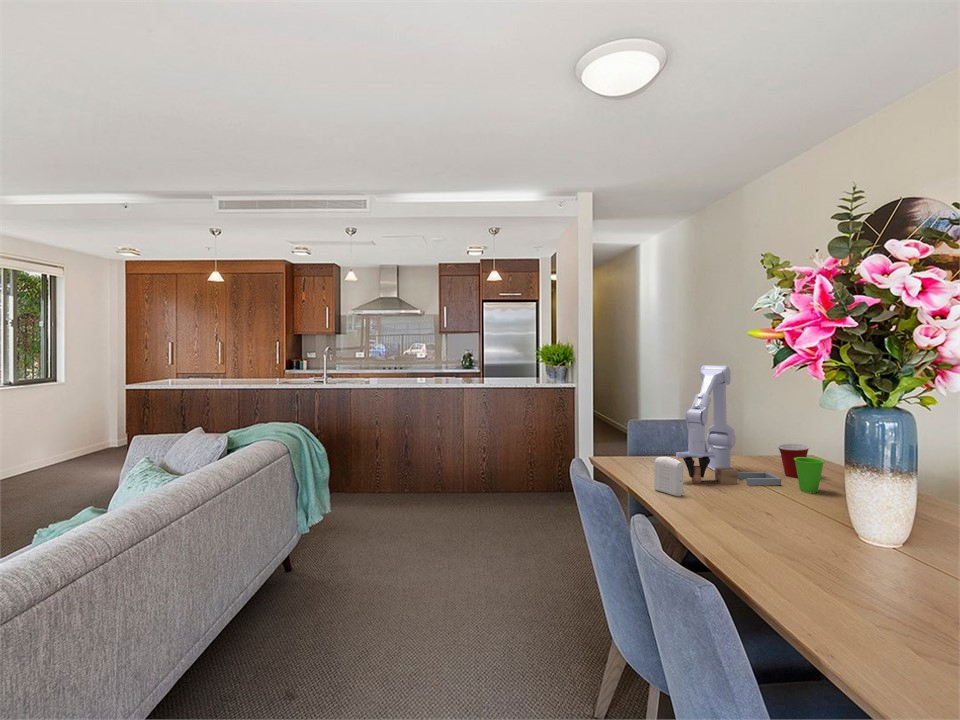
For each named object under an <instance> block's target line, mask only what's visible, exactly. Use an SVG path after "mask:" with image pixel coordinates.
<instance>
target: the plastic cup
mask: <svg viewBox="0 0 960 720" xmlns="http://www.w3.org/2000/svg"><path fill="white" fill-rule="evenodd" d="M777 448H778V450H779V453H780V457H781V461H782V467H783V472H784V475H785V477H790V478H795V477H796V478H797V479H798V475H797V469H796V463H795V460H794V458H796V457H807V456H808V452H809V449H810V445H807V444H802V443H780V444H778V445H777Z"/></svg>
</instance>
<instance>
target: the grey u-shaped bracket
mask: <svg viewBox="0 0 960 720" xmlns="http://www.w3.org/2000/svg"><path fill="white" fill-rule="evenodd" d="M738 480H746V486H747V485H748V486H747V487H757V486H756V485H781V486H782V478H780V477H778V476H776V475H774V474H772V473H769V472H768V471H757V472H756V471H754V472H753V471H751V472H750V471H749V472H748V471H742V472H741V471H738Z"/></svg>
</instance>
